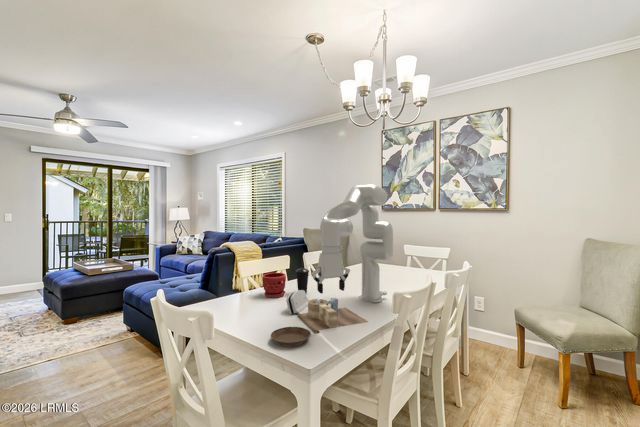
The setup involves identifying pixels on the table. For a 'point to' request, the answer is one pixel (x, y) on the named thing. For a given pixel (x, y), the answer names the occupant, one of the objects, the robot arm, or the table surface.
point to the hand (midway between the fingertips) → (331, 291)
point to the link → (322, 312)
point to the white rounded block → (297, 301)
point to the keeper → (334, 304)
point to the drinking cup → (302, 278)
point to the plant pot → (274, 284)
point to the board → (343, 319)
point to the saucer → (290, 336)
